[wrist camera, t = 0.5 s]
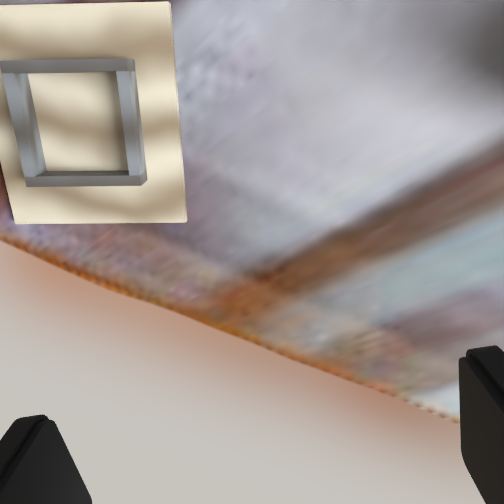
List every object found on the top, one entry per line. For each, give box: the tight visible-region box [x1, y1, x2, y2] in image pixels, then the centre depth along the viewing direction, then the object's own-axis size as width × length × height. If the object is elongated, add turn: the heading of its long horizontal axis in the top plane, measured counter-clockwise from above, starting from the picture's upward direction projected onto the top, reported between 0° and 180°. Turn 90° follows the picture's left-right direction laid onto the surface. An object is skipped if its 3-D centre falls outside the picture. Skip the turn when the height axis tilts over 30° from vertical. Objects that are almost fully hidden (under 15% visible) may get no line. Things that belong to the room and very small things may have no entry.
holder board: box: [0, 2, 187, 224], centre depth 40 cm, size 20×18×4 cm
